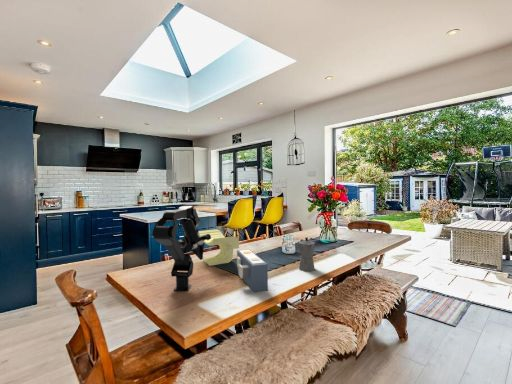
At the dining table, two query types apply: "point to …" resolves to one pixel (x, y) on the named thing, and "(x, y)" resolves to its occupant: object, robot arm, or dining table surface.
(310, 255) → the coffeepot
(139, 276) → the dining table surface
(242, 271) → the button near
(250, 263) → the switch box
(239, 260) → the button far
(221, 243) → the slatted curved stool
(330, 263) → the dining table surface
